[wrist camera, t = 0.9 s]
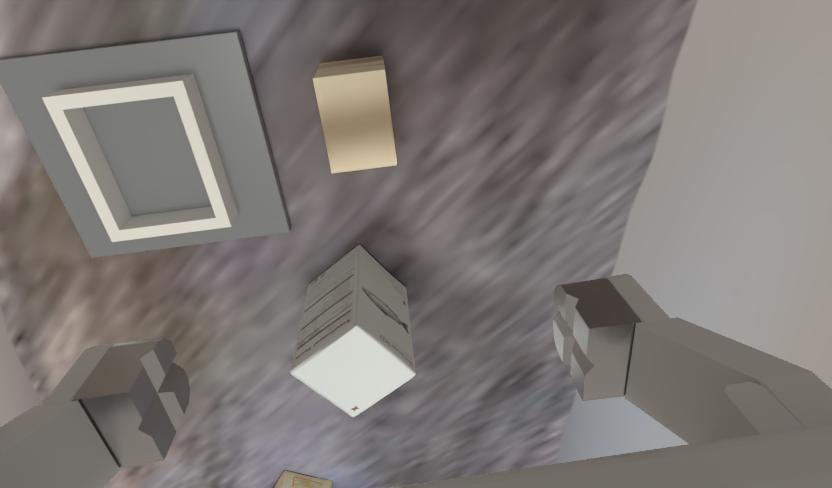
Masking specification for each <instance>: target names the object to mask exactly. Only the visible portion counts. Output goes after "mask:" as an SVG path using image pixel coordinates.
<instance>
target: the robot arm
mask: <svg viewBox="0 0 832 488" xmlns="http://www.w3.org/2000/svg"><path fill="white" fill-rule="evenodd" d="M554 302H555V304H556V306H557V308H558V309H559V312H558V313H557V315H556V316H555V317H554V318H553V333H554V339H555V344H556V347H557V350H558V353H559V355H560V357H561V359H562V361H563V362H564V363H566V364H568V365H569V366H571V375H570V377H571V379H572V381H573V383H574V385H575V387H576V389H577V390H578V392H579V394H580V396H581V398H582V400H583V401H587V400H596V399H603V398H604V399H605V398H612V397H622V396H625V398H626V399H627V400H628V401H630V402H631V403H633V404H634V405H635V406H637V407H638V408H640V409H641V410H642V411H644V412H645V413H647V414H648V415H649V416H651V417H652V418H654V419H655V420H656V421H658V422H659V423H661V424H662V425H663V426H665V427H666V428H668V429H669V430H670V431H672V432H673V433H675V434H676V435H678V436H679V437H680V438H682V439H683V440H685V441H686V442H687V443H689V444H688V445H681V446H675V447H667V448H661V449H654V450H647V451H640V452H634V453H627V454H620V455H613V456H606V457H600V458H593V459H587V460H580V461H572V462H566V463H559V464H552V465H545V466H538V467H531V468H524V469H517V470H510V471H502V472H495V473H488V474H481V475H474V476H467V477H460V478H453V479H446V480H439V481H432V482H425V483H418V484H411V485H404V486H398V487H391V488H832V389H831V388H829V386H827V385H826V384H825V383H824V382H823V381H821V379H819V378H818V377H817V376H816V375H815V374H814V373H813V372H811V371H809V370H807V369H804V368H802V367H799V366H797V365H794V364H792V363H789V362H787V361H784V360H782V359H779V358H777V357H774V356H772V355H769V354H767V353H764V352H762V351H760V350H757V349H755V348H752V347H750V346H747V345H745V344H742V343H739V342H737V341H735V340H732V339H730V338H727V337H725V336H722V335H720V334H717V333H715V332H712V331H710V330H707V329H705V328H702V327H700V326H697V325H695V324H692V323H690V322H687V321H685V320H683V319H680V318H669V316H668V315H667V314H666V313H665V312H664V311H663V310H662V309H661V308H660V307H659V306H658V305H657V304H656V303H655V301H654V300H653V299H652V298H651V297H650V296H649V295H648V294H647V292H646V291H645V290H644V289H643V288H642V287H641V286H640V285H639V284H638V283H637V282H636V280H635V279H634V278H633V277H632V276H630V275H628V274H623V275H618V276H611V277H605V278H603V279H596V280H589V281H582V282H575V283H569V284H562V285H556V289H555V293H554ZM176 354H177V352H176V350H175V348H174V346H173V344H172V342H171V341H170V340H168V339H166V338H159V339H150V340H141V341H133V342H124V343H117V344H108V345H100V346H93V347H91V348H88V349H86V350H85V351H84V352H83V353H82V355H81V356H80V357H79V358H78V360H77V361H76V362H75V364H74V365H73V366H72V367H71V369H70V370H69V371H68V372H67V374H66V375H65V376H64V377H63V379H62V380H61V381H60V383H59V384H58V385H57V386H56V388H55V389H54V390H53V391H52V393H51V394H50V395H49V396H48V398H47V399H46V400H45V402H44V403H43V404H42V405H40V406H33V407H32V408H30V409H29V410H27V411H26V412H24V413H22V414H21V415H19V416H18V417H16V418H14V419H13V420H11V421H10V422H8V423H7V424H5V425H3V426H2V427H0V488H103V487H104V486H105V485H106V484H107V483H108V482H109V481H110V480H111V479H112V478H113V477H114V476H115V475H116V474H117V473H118V472H119V471H120V468H121V467H127V466H133V465H139V464H145V463H151V462H157V461H163V460H164V459H165V457H166V455H167V452H168V450H169V448H170V446H171V443H172V441H173V439H174V436H175V434H176V430H175V428H174V426H173V424H174V423H175V422H176V421H177V420H178V419H179V418H180V417H182V416H183V415H184V413H185V411H186V408H187V406H188V403H189V394H190V387H189V381H188V377H187V375H186V373H185V370H184V369H183V368H181V367H180V366H178V365H177V364H175V363H174V362H173V361H174V359H175V356H176Z"/></svg>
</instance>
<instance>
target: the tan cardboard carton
mask: <svg viewBox="0 0 832 488" xmlns="http://www.w3.org/2000/svg"><path fill="white" fill-rule="evenodd" d="M313 83H314V88H315V92H316V97H317V102H318V107H319V112H320V117H321V122H322V127H323V132H324V137H325V142H326V147H327V152H328V157H329V162H330V167H331V172H332V173H339V172H347V171H355V170H362V169H370V168H378V167H386V166H394V165H397V160H396V152H395V144H394V136H393V128H392V120H391V113H390V105H389V97H388V89H387V81H386V73H385V66H384V60H383V56H375V57H367V58H358V59H350V60H342V61H334V62H325V63H320V64H319V66H318V68H317V70H316V72H315V75H314V77H313Z"/></svg>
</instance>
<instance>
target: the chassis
mask: <svg viewBox="0 0 832 488" xmlns="http://www.w3.org/2000/svg"><path fill="white" fill-rule="evenodd" d="M0 83H1V85H2V87H3V89H4V91H5V93H6V94H7V96H8V98H9V100H10V102H11V104H12V106H13V108H14V110H15V112H16V114H17V116H18V117H19V119H20V121H21V123H22V125H23V127H24V129H25V131H26V133H27V135H28V137H29V139H30V141H31V142H32V144H33V146H34V148H35V150H36V152H37V154H38V156H39V158H40V160H41V162H42V164H43V165H44V167H45V169H46V171H47V173H48V175H49V177H50V179H51V181H52V183H53V185H54V187H55V189H56V190H57V192H58V194H59V196H60V198H61V200H62V202H63V204H64V206H65V208H66V210H67V212H68V213H69V215H70V217H71V219H72V221H73V223H74V225H75V227H76V229H77V231H78V233H79V235H80V237H81V238H82V240H83V242H84V244H85V246H86V248H87V250H88V252H89V254H90V256H91V258H95V257H103V256H111V255H118V254H126V253H134V252H141V251H149V250H157V249H165V248H172V247H180V246H188V245H195V244H203V243H211V242H219V241H226V240H234V239H242V238H249V237H257V236H265V235H273V234H280V233H288V232H290V230H291V224H290V221H289V217H288V213H287V209H286V205H285V202H284V198H283V194H282V190H281V186H280V183H279V179H278V175H277V171H276V167H275V164H274V160H273V156H272V152H271V148H270V145H269V141H268V137H267V133H266V129H265V126H264V122H263V118H262V114H261V110H260V107H259V103H258V99H257V95H256V91H255V88H254V84H253V80H252V76H251V72H250V69H249V65H248V61H247V57H246V53H245V50H244V46H243V42H242V38H241V34H240V31H231V32H223V33H215V34H206V35H198V36H189V37H181V38H173V39H164V40H156V41H147V42H139V43H130V44H122V45H114V46H105V47H97V48H88V49H80V50H72V51H63V52H55V53H46V54H38V55H29V56H21V57H13V58H4V59H0Z"/></svg>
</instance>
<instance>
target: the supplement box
mask: <svg viewBox="0 0 832 488" xmlns="http://www.w3.org/2000/svg"><path fill="white" fill-rule="evenodd" d="M290 373H291V374H292V375H293V376H294V377H296V378H297V379H298V380H300V381H302V382H303V383H304V384H306V385H307V386H309V387H310V388H312V389H313V390H314V391H316V392H317V393H319V394H320V395H321V396H322V397H324V398H325V399H327V400H329V401H330V402H332V403H333V404H334V405H336V406H337V407H339V408H340V409H342V410H343V411H344V412H346V413H347V414H349V415H350V416H351V417H355V416H356V415H358V414H359V413H361V412H363V411H364V410H366V409H367V408H369V407H370V406H371V405H373V404H374V403H376V402H377V401H379V400H380V399H382V398H383V397H385V396H386V395H388V394H389V393H391V392H392V391H394V390H395V389H397V388H398V387H399V386H401V385H403V384H404V383H405V382H407V381H408V380H410V379H411V378H412V377H414V376H415V375H416V371H415V363H414V354H413V345H412V336H411V327H410V317H409V308H408V299H407V290H406V287H405V286H404V285H402V284H401V283H400V282H399V281H398V280H396V279H395V278H394V277H393V276H392V275H391V274H390V273H389V272H387V271H386V270H385V269H384V268H383V267H382V266H381V265H380V264H379V263H378V262H377V261H376V260H375V259H374V258H373V257H372V256H371V255H370V254H369V253H368V252H367V251H366V250H365V249H364V248H363V247H362V246H361V245H358V246H356V247H355V248H354V249H352V250H351V251H350V252H349V253H347V254H346V255H345V256H343V257H342V258H341V259H340V260H339V261H337V262H336V263H335V264H333V265H332V266H331V267H330V268H328V269H327V270H326V271H325V272H323V273H322V274H321V275H320V276H318V277H317V278H316V279H315V280H313V281H312V282H311V283H310V284H309V285H308V288H307V293H306V298H305V302H304V307H303V312H302V317H301V322H300V327H299V332H298V337H297V342H296V347H295V352H294V357H293V362H292V366H291V370H290Z"/></svg>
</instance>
